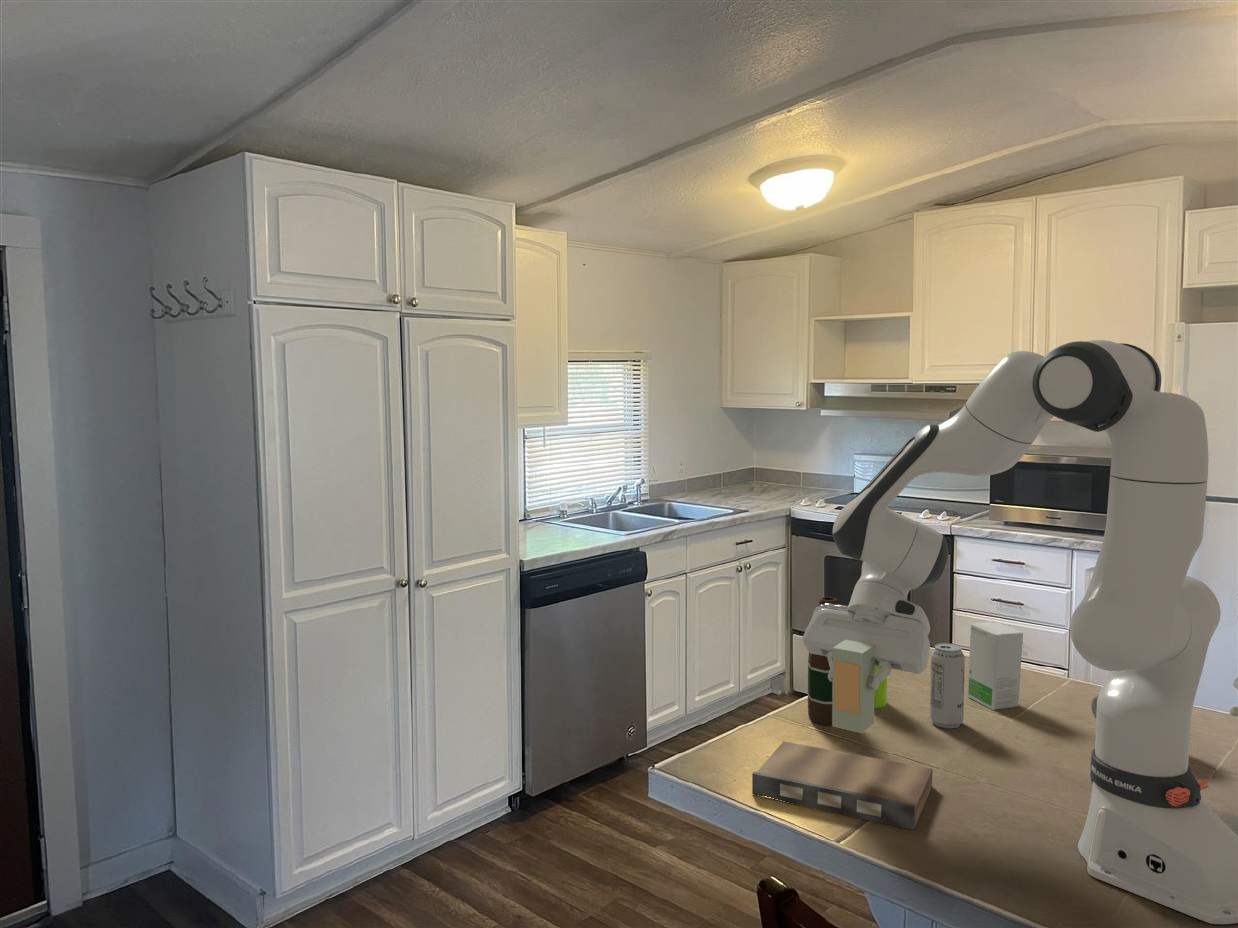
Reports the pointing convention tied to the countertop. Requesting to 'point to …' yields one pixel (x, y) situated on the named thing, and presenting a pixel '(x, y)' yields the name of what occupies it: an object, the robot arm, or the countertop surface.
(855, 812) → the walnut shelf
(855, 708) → the sage carton
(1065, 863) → the countertop surface
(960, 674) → the energy drink can
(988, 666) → the skincare box
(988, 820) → the countertop surface
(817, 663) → the beer bottle
